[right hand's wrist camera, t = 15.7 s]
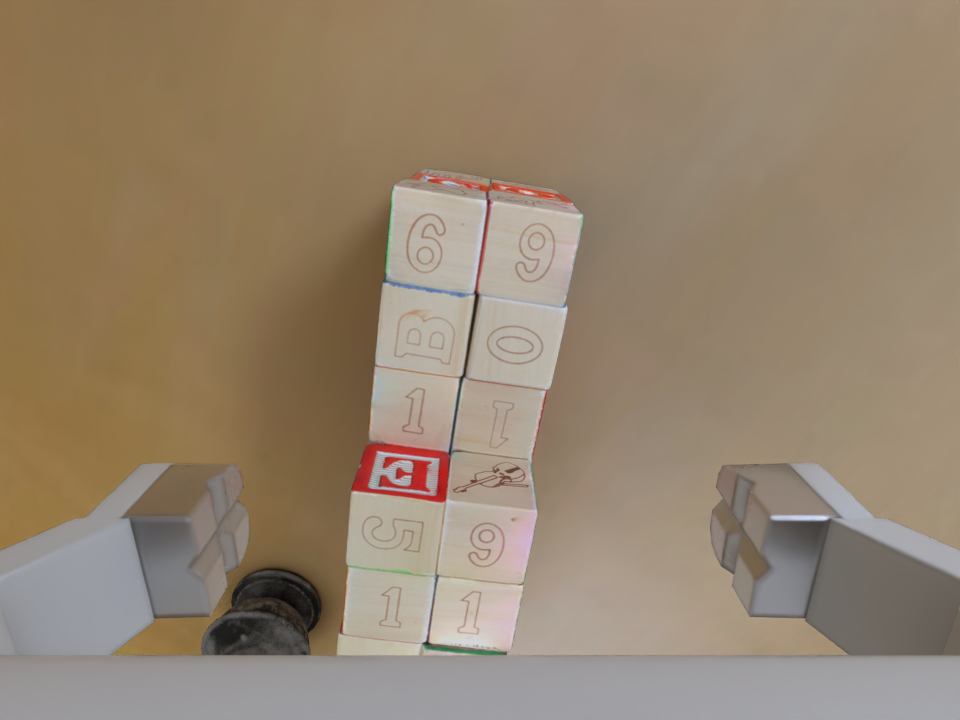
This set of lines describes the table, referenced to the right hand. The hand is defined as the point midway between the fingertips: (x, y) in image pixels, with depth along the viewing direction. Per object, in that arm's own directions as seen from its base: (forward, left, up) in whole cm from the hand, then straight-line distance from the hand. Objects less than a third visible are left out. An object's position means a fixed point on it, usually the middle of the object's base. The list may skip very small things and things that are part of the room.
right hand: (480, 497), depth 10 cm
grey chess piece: (+17, +17, -20) cm, 31 cm away
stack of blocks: (+3, +6, -20) cm, 21 cm away
